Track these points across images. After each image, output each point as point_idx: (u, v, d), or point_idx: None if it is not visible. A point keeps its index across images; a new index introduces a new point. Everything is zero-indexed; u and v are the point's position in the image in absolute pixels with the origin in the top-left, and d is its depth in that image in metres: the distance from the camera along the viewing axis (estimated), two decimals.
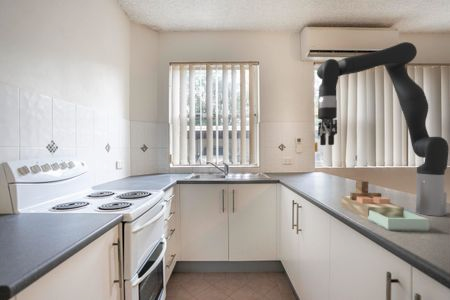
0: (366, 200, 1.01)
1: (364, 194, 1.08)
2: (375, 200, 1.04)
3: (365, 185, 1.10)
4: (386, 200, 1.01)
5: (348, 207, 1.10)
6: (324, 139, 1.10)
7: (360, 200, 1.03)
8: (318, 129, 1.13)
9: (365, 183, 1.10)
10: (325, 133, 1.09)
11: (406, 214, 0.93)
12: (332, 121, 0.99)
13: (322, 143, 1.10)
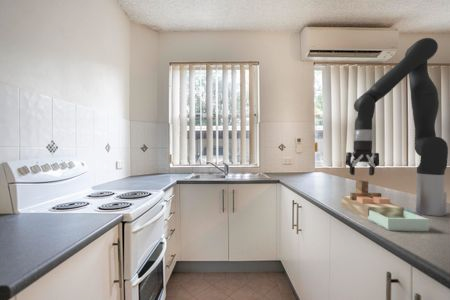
0: (366, 200, 1.01)
1: (364, 194, 1.08)
2: (375, 200, 1.04)
3: (365, 185, 1.10)
4: (386, 200, 1.01)
5: (348, 207, 1.10)
6: None
7: (360, 200, 1.03)
8: (348, 159, 1.11)
9: (365, 183, 1.10)
10: None
11: (406, 214, 0.93)
12: None
13: None
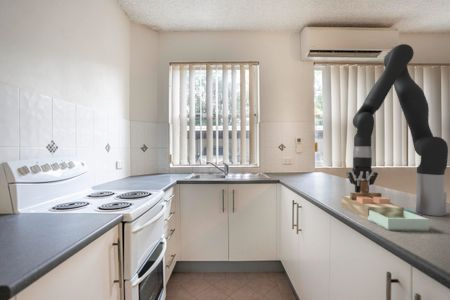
0: (366, 200, 1.01)
1: (364, 194, 1.08)
2: (375, 200, 1.04)
3: (365, 185, 1.10)
4: (386, 200, 1.01)
5: (348, 207, 1.10)
6: None
7: (360, 200, 1.03)
8: (351, 179, 1.11)
9: (365, 183, 1.10)
10: None
11: (406, 214, 0.93)
12: None
13: None
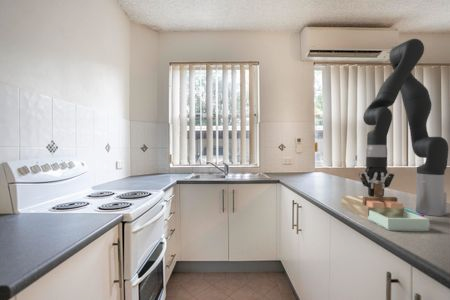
0: (377, 204, 0.94)
1: (378, 198, 0.98)
2: (386, 204, 0.96)
3: (379, 188, 1.00)
4: (399, 204, 0.94)
5: (348, 207, 1.10)
6: None
7: (370, 204, 0.96)
8: (364, 181, 1.00)
9: (379, 186, 1.00)
10: None
11: (406, 214, 0.93)
12: None
13: None
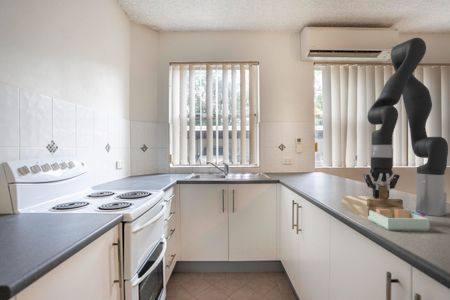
0: None
1: (383, 201, 0.95)
2: (395, 214, 0.92)
3: (384, 190, 0.97)
4: None
5: (348, 207, 1.10)
6: None
7: None
8: (369, 182, 0.97)
9: (384, 188, 0.97)
10: None
11: None
12: None
13: None
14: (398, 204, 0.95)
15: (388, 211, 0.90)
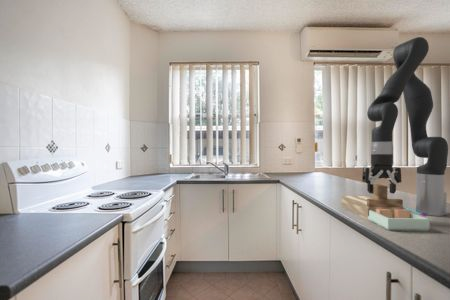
0: None
1: (383, 200, 0.95)
2: (395, 214, 0.92)
3: (384, 190, 0.97)
4: None
5: (348, 207, 1.10)
6: None
7: None
8: (366, 175, 0.97)
9: (384, 188, 0.97)
10: None
11: None
12: None
13: None
14: (398, 204, 0.95)
15: (388, 211, 0.91)
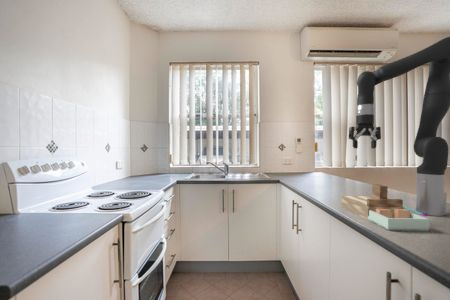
0: None
1: (383, 200, 0.95)
2: (395, 214, 0.92)
3: (384, 190, 0.97)
4: None
5: (348, 207, 1.10)
6: None
7: None
8: (351, 133, 1.16)
9: (384, 188, 0.97)
10: None
11: None
12: None
13: None
14: (398, 204, 0.95)
15: (388, 211, 0.91)
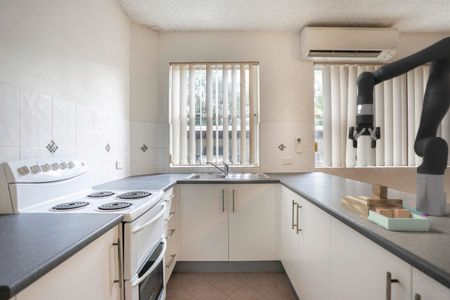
0: None
1: (383, 200, 0.95)
2: (395, 214, 0.92)
3: (384, 190, 0.97)
4: None
5: (348, 207, 1.10)
6: None
7: None
8: (351, 132, 1.17)
9: (384, 188, 0.97)
10: None
11: None
12: None
13: None
14: (398, 204, 0.95)
15: (388, 211, 0.91)
